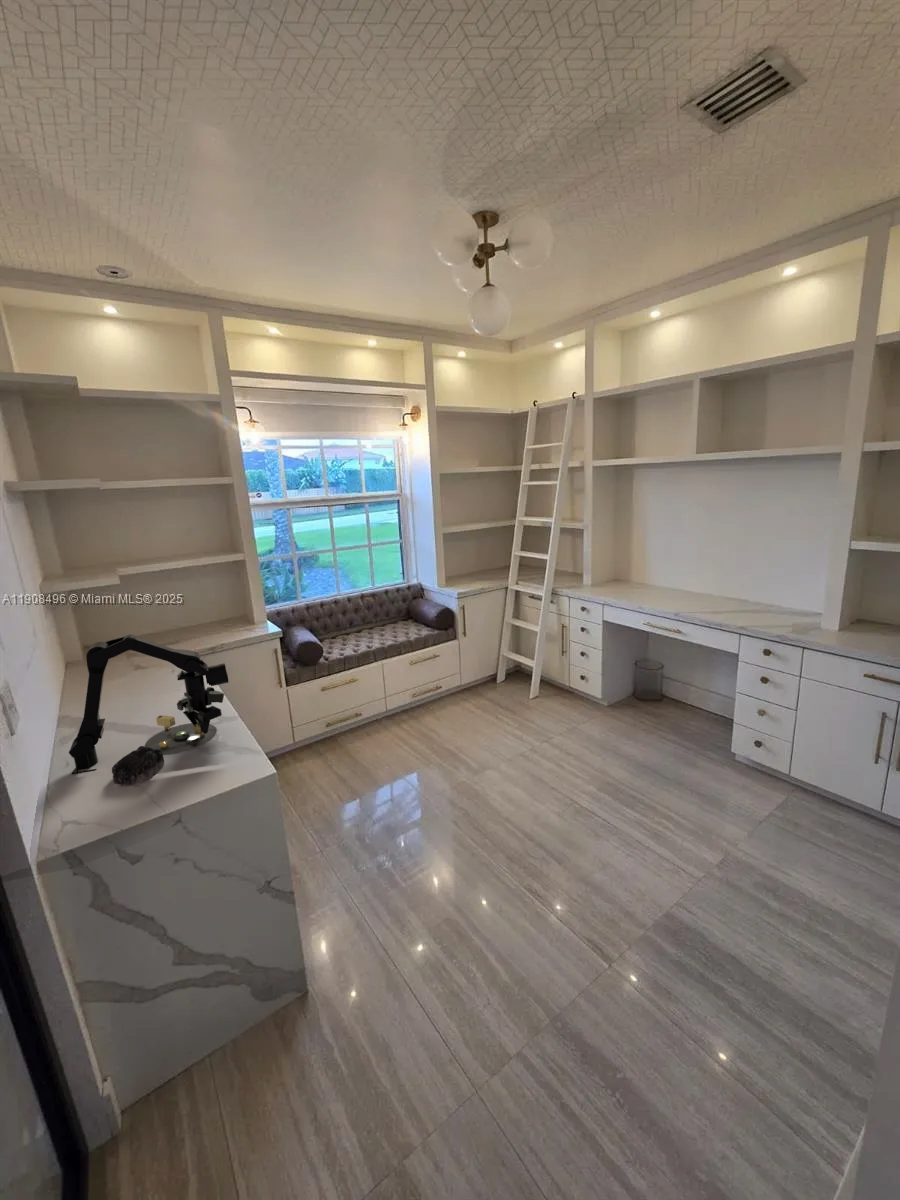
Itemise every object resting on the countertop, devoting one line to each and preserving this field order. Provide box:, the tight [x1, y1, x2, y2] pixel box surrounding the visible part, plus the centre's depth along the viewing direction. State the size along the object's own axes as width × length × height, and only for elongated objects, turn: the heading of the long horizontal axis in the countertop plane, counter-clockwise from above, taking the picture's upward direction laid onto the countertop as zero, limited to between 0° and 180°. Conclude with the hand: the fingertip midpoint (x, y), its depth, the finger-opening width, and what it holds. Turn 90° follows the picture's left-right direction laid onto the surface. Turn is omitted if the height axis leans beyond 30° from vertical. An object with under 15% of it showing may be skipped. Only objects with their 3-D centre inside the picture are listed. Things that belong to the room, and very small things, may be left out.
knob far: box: [155, 714, 176, 732], centre depth 176 cm, size 6×2×5 cm, turn 75°
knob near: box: [194, 723, 205, 738], centre depth 171 cm, size 6×2×5 cm, turn 2°
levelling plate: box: [144, 722, 218, 756], centre depth 171 cm, size 22×22×3 cm
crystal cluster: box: [111, 745, 165, 786], centre depth 151 cm, size 13×14×10 cm
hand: (202, 731), depth 171 cm, fingers closed on knob near, 4 cm apart
